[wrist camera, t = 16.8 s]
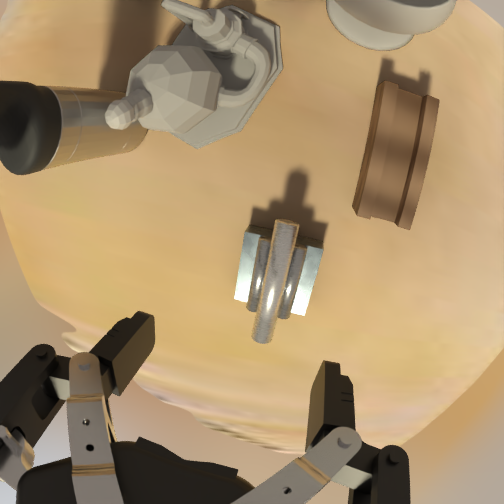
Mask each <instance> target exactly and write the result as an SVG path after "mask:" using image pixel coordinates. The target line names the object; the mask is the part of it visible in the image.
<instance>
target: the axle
mask: <svg viewBox="0 0 504 504" xmlns="http://www.w3.org/2000/svg"><path fill="white" fill-rule="evenodd" d="M298 230H299V224H298V223H296V222H294V221H291V220H286V219H276V220H275V224H274V229H273V234H272V239H271V244H270V249H269V254H268V259H267V264H266V269H265V274H264V278H263V283H262V288H261V293H260V297H259V302H258V307H257V312H256V316H255V321H254V326H253V330H252V335H251V337H252V339H253V340H254V341H256V342H258V343H262V344H266V343H269V342H271V340H272V337H273V333H274V329H275V325H276V321H277V317H278V314H279V310H280V306H281V302H282V298H283V294H284V289H285V285H286V281H287V277H288V273H289V269H290V264H291V260H292V256H293V252H294V247H295V243H296V239H297V234H298Z"/></svg>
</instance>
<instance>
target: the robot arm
mask: <svg viewBox="0 0 504 504" xmlns="http://www.w3.org/2000/svg"><path fill="white" fill-rule="evenodd" d="M123 97H126V93H123V92H116V91H109V90H100V89H89V88H77V87H60V86H36V85H34V84H32V83H29V82H19V81H0V160H1V162H2V163H3V165H4V166H5V167H6V169H8V170H9V171H10V172H11V173H14V174H16V175H26V174H31V173H34V172H38V171H41V170H45V169H49V168H53V167H57V166H60V165H65V164H69V163H74V162H79V161H83V160H88V159H93V158H99V157H104V156H110V155H116V154H121V153H126V152H130V151H132V150H133V149H135V148H136V147H137V146H138V145H139V144H140V143H141V142H142V141H143V139H144V137H145V135H146V133H147V128H144V127H142V125H141V124H140V122H139V121H138V120H136V121H135V122H133V123H131V124H130V125H129V126H128V127H127V128H125V129H123V130H120V129H113V128H111V127H110V126H109V125H108V124H107V123H106V119H105V113H106V111H107V109H108V107H109V105H110V104H111V103H112V102H113V101H115V100H121V99H122V98H123ZM154 344H155V323H154V316H153V315H150V314H147V313H144V312H141V311H138V312H136V313H135V315H134V316H133V317H132V318H131V319H130V318H127V317H126V318H124V319H122V320H120V321H118V322H117V323H116V324H115V325H114V326H113V327H112V329H110V330H109V331H108V332H107V335H105V336H104V337H103V338H102V339H101V340H100V341H99V342H98V343H97V344H96V345H95V346H94V347H93V348H92V350H91V351H90V352H89V353H88V352H82V353H78V354H76V355H74V356H73V357H72V358H69V357H64V356H59V355H56V352H55V350H54V348H53V347H52V346H50V345H48V344H40V345H36V346H35V347H33V348H32V349H31V350H30V351H29V352H28V353H27V354H26V355H25V356H24V357H23V359H21V360H20V361H19V363H18V364H17V365H16V366H15V367H14V368H13V369H12V370H11V371H10V372H9V373H8V374H7V375H6V377H5V378H4V379H3V380H2V381H1V382H0V481H2V482H6V483H7V484H8V485H10V486H11V487H12V488H13V489H15V490H16V491H17V495H16V504H305V503H306V502H308V501H309V500H310V499H311V498H312V497H313V496H315V495H316V494H317V493H318V492H319V491H320V490H321V489H322V488H323V487H324V486H325V485H327V483H328V482H330V481H333V482H336V483H338V484H341V485H343V486H346V487H349V498H348V504H410V478H409V477H410V475H409V459H408V455H407V453H406V452H405V451H404V450H403V449H402V448H401V447H399V446H396V445H388V446H385V447H384V448H382V449H378V448H376V447H373V446H370V445H368V444H366V443H364V442H363V441H362V440H361V437H360V435H359V434H358V433H357V432H356V429H355V411H354V396H353V384H352V382H351V381H350V379H349V377H348V376H344V375H341V374H340V364H339V363H335V362H330V361H323V362H322V364H321V367H320V369H319V371H318V374H317V376H316V378H315V380H314V383H313V386H312V389H311V394H310V406H309V418H308V428H307V438H306V447H305V452H307V453H306V454H305V455H303V456H302V457H301V458H296V459H295V460H293V461H292V462H291V463H289V464H288V465H287V466H285V467H284V468H283V469H281V470H280V471H279V472H277V473H276V474H274V475H273V476H272V477H270V478H269V479H267V480H266V481H265V482H263V483H262V484H260V485H259V486H257V487H256V488H255V487H254V486H252V485H251V484H250V483H249V482H247V481H246V480H245V479H243V478H241V477H239V476H237V473H238V469H235V468H230V467H227V466H223V465H219V464H216V463H210V462H198V461H189V460H184V459H182V458H181V457H179V456H177V455H176V454H174V453H173V452H171V451H169V450H168V449H166V448H165V447H163V446H161V445H159V444H156V443H154V442H151V441H149V440H146V439H144V438H142V437H139V438H138V440H137V441H136V442H132V441H120V442H118V441H117V438H116V434H115V430H114V425H113V421H112V415H111V410H110V403H109V399H108V398H109V396H110V395H111V394H112V393H113V394H115V395H117V396H120V395H121V394H122V392H123V391H124V389H125V388H126V387H127V385H128V384H129V382H130V381H131V380H132V378H133V377H134V375H135V374H136V373H137V371H138V370H139V368H140V367H141V366H142V364H143V363H144V361H145V360H146V359H147V357H148V356H149V354H150V353H151V351H152V350H153V347H154ZM66 400H67V419H68V432H69V442H70V451H71V457H68V458H65V459H62V460H59V461H55V462H51V463H48V464H44V465H40V466H37V467H33V464H34V462H33V461H34V457H35V455H34V450H33V447H34V446H35V444H36V443H37V441H38V440H39V438H40V437H41V436H42V434H43V432H44V431H45V430H46V428H47V427H48V425H49V424H50V423H51V421H52V420H53V418H54V417H55V415H56V414H57V413H58V411H59V410H60V408H61V407H62V406H63V404H64V403H65V401H66ZM32 467H33V468H32Z"/></svg>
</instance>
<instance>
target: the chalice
mask: <svg viewBox="0 0 504 504" xmlns="http://www.w3.org/2000/svg"><path fill="white" fill-rule="evenodd" d="M456 1H457V0H326V9H327V13H328V16H329V18H330V20H331V22H332V24H333V25H334V26H335V28H336V29H337V30H338V31H339V32H340V33H341V34H342V35H343V36H345V37H346V38H347V39H348V40H350V41H352V42H354V43H356V44H357V45H359V46H362V47H365V48H368V49H372V50H378V51H390V50H395V49H399V48H401V47H403V46H405V45H406V44H407V43H408V42H409V41H411V40H412V38H413V36H414V35H418V34H422V33H426V32H430V31H432V30H434V29H435V28H437V27H439V26H441V25H442V24H443V23H444V22H445V21H446V20H447V19H448V17H449V16H450V15H451V13H452V11H453V9H454V6H455V4H456Z"/></svg>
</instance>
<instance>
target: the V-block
mask: <svg viewBox="0 0 504 504" xmlns="http://www.w3.org/2000/svg"><path fill="white" fill-rule="evenodd" d="M272 234H273V230H271V229H266V228H262V227H257V226H253V225H249V227H248V228H247V229H246V231H245V234H244V240H243V246H242V253H241V259H240V265H239V271H238V278H237V284H236V290H235V297H234V299H237V300H241V301H245V302H247V306H246V308H247V309H248V310H249V311H251V312H257V307H258V302H259V297H260V293H261V288H262V283H263V278H264V274H265V269H266V264H267V259H268V254H269V249H270V244H271V239H272ZM322 253H323V241H319V240H315V239H311V238H306V237H302V236H298V235H297V239H296V243H295V247H294V252H293V256H292V260H291V264H290V269H289V273H288V277H287V281H286V285H285V289H284V294H283V298H282V302H281V306H280V310H279V314H278V318H281V319H288V318H289V317H290V314H291V313H295V314H300V315H305V312H306V309H307V305H308V302H309V299H310V295H311V292H312V289H313V285H314V282H315V278H316V275H317V271H318V268H319V264H320V260H321V257H322Z"/></svg>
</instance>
